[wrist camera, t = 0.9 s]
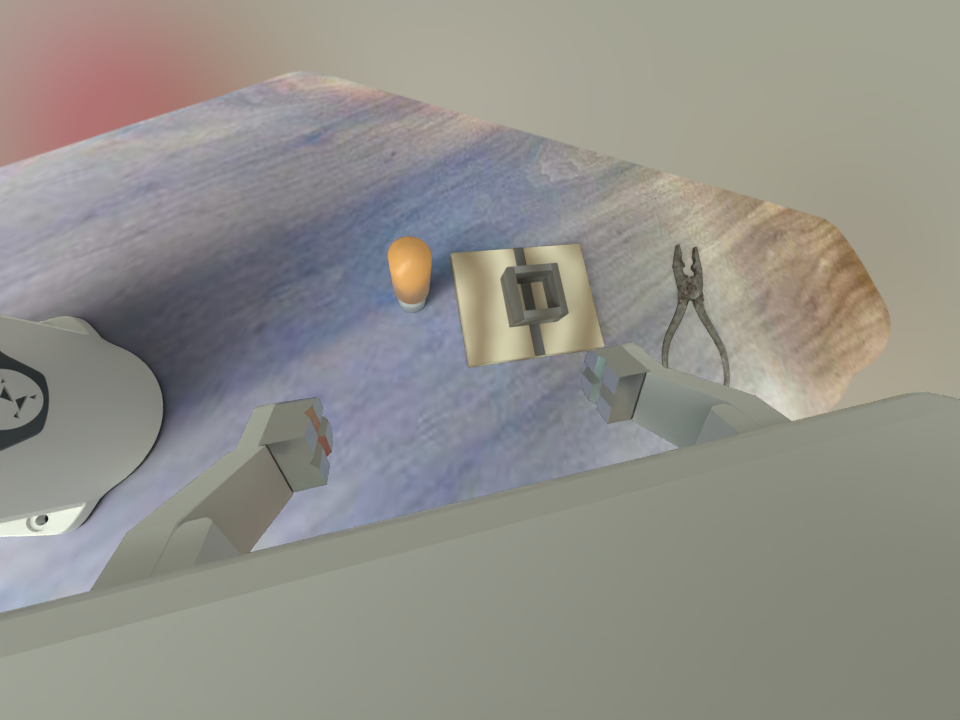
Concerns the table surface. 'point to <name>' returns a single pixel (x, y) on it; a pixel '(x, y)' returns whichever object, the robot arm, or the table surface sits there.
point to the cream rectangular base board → (524, 303)
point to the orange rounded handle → (410, 272)
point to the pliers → (693, 291)
